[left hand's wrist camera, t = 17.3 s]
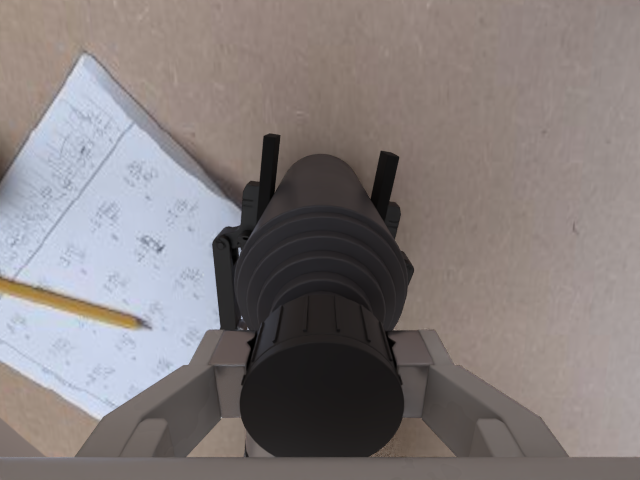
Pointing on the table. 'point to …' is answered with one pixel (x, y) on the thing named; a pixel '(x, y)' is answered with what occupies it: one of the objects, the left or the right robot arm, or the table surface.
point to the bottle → (320, 246)
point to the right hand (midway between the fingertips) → (331, 145)
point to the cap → (321, 381)
